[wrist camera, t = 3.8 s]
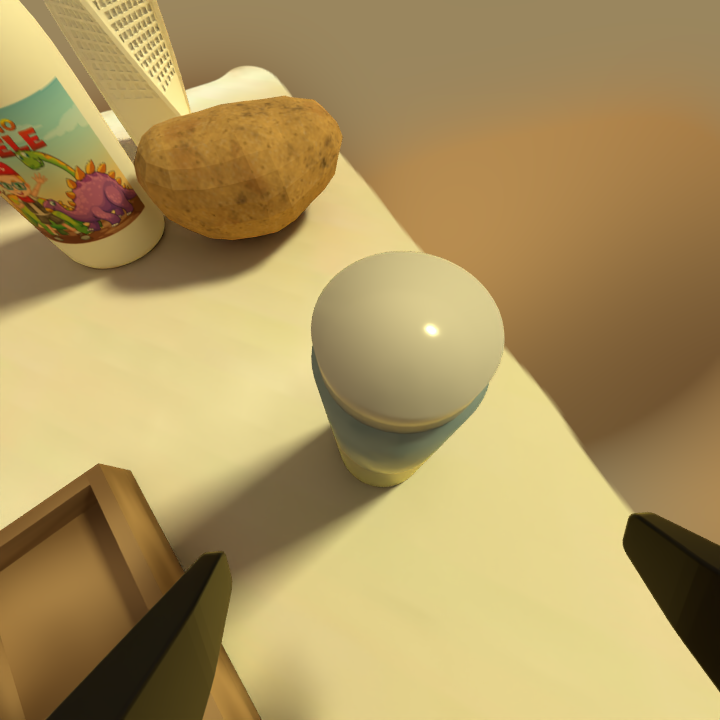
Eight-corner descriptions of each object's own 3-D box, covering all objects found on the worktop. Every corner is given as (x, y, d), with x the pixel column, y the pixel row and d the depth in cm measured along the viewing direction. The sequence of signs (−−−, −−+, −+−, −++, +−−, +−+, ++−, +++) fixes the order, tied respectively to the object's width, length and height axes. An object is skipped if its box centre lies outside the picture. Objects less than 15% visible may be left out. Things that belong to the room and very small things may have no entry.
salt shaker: (442, 446, 20) (557, 333, 8) (377, 507, 18) (402, 477, 7) (384, 385, 21) (409, 218, 10) (321, 436, 20) (262, 314, 8)
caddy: (294, 781, 14) (279, 834, 12) (101, 1000, 12) (35, 1119, 9) (130, 470, 19) (98, 463, 17) (-22, 579, 17) (-84, 587, 15)
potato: (367, 228, 27) (368, 122, 20) (194, 289, 25) (124, 194, 18) (321, 158, 31) (308, 48, 24) (167, 205, 29) (102, 99, 22)
